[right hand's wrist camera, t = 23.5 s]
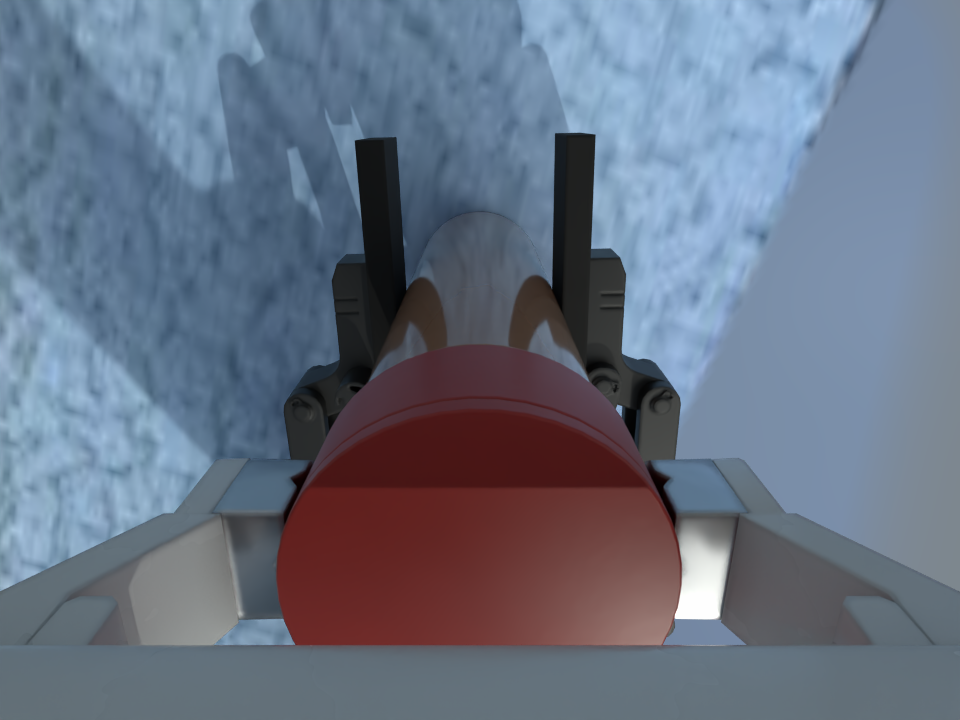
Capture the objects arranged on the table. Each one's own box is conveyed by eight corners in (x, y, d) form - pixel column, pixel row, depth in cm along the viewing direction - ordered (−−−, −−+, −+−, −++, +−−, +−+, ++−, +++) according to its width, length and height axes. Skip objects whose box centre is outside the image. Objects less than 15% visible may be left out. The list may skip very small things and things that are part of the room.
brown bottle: (505, 189, 25) (560, 335, 8) (557, 295, 26) (697, 607, 9) (399, 246, 25) (242, 489, 9) (456, 345, 27) (416, 718, 10)
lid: (633, 616, 11) (670, 734, 9) (339, 626, 11) (305, 746, 9) (647, 335, 9) (698, 400, 7) (295, 351, 9) (241, 418, 7)
